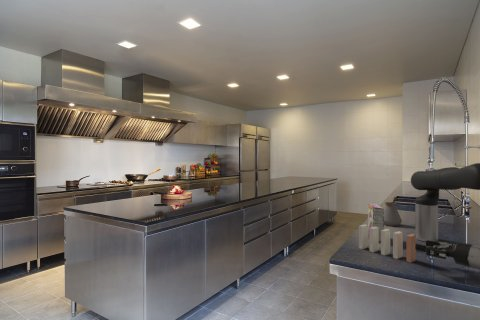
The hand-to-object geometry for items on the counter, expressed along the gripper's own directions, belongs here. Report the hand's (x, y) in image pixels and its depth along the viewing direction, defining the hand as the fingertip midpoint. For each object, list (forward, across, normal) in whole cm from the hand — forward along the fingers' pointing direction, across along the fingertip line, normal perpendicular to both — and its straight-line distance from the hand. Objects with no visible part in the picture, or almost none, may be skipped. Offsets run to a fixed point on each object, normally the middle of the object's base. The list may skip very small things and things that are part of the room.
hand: (421, 244), depth 110 cm
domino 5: (+4, 0, +7) cm, 8 cm away
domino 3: (+14, 0, +7) cm, 16 cm away
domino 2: (+19, 0, +7) cm, 20 cm away
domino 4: (+9, 0, +7) cm, 11 cm away
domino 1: (+24, 0, +7) cm, 25 cm away
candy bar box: (+28, -18, +7) cm, 34 cm away
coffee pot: (+41, -58, +7) cm, 71 cm away
